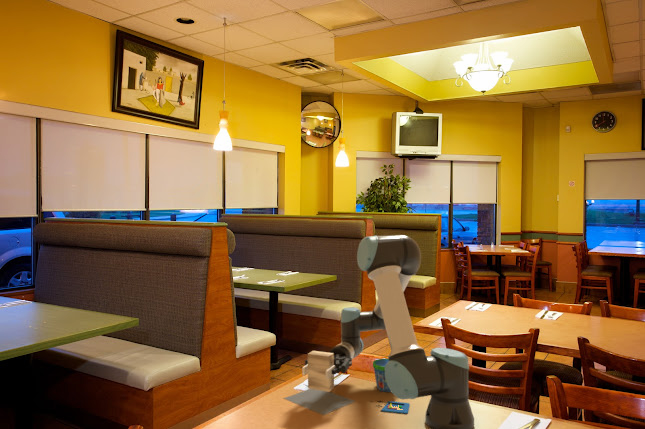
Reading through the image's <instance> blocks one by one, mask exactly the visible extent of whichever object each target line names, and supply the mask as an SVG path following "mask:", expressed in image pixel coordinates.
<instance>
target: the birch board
mask: <svg viewBox="0 0 645 429" xmlns="http://www.w3.org/2000/svg"><path fill="white" fill-rule="evenodd" d="M307 359H308V374H307V389H315V390H321V391H327V392H331V391H332V390H333V389H334V388H335V375H333V376H331V377H330V378H329V379H326V370H327V369H329V368H330V367H332V366H333V365H334V353H329V352H326V351H317V350H312V351H310V352H309V353H308V352H307Z"/></svg>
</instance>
